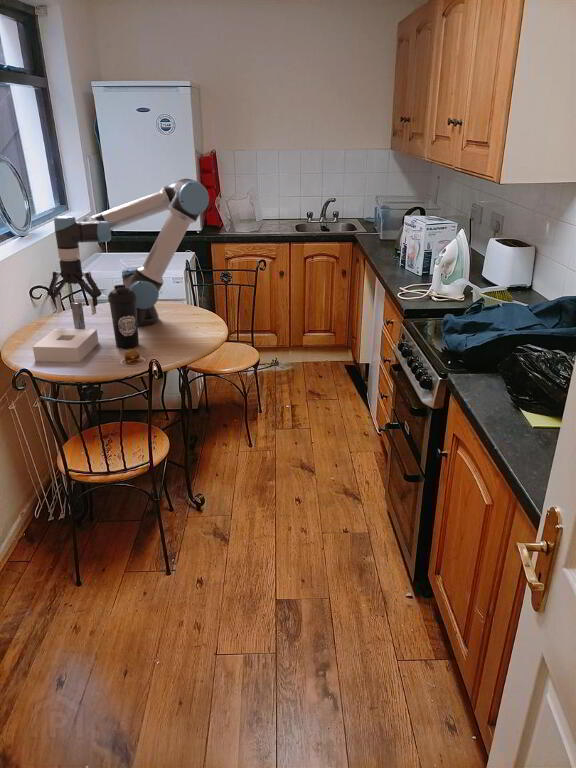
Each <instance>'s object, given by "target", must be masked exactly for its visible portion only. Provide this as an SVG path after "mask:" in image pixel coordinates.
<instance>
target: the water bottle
mask: <svg viewBox="0 0 576 768" xmlns="http://www.w3.org/2000/svg"><path fill="white" fill-rule="evenodd" d="M136 300H137V298H136V294H135V293H134V292H133V291H132V290H130V289H129V288H126V287H125V285H123V284H118V285H116V284H115V285H114V289H112V290H111V291H110V292H109V294H108V295H107V301H108V303H109V306H110V314H111V321H112V327H113V333H114V334H113V335H114V340H115V347H116V348H117V349H119V350H129V349H135V348H137V347H139V346H140V341H139V340H140V339H139V328H138V327H139V326H138V324H137V310H136Z"/></svg>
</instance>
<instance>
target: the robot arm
mask: <svg viewBox="0 0 576 768" xmlns="http://www.w3.org/2000/svg"><path fill="white" fill-rule="evenodd" d="M209 203H210V196H209V192H208V190H207V188H206V187H205V186H204V185H203V184H202V183H201V182H199V181H197V180H194V179H190V178H181V179H179V180H177V181H174V182H173V183H171V184H168V185H166V186H163V187H161V189H160V191H157V192H154V193H152V194H148V195H146V196H143V197H141V198H138V199H135V200H133V201H130V202H127V203H124V204H121V205H119V206H115V207H113V208H110V209H108V210H105V211H103V212H100V213H96V214H94V215H91V214H90V215H87V216H85V217H84V218H83V220H82V221H77V220H76V217H75V216H74V215H73V216H72V215H59V216H56V217H55V218H53V222H54V224H53V225H54V233H55V240H56V245H57V254H58V258H59V268H60V269H59V270H60V271H58V269H57V270H54V271H52V278H51V281H50V284H49V287H48V290H47V292H46V293H47V295H48V296H51V297H52V299H53V304H54V305H55V306H56V312H57V315H59V314H61V313H62V312H63V308H62V301H61V295H59V293H60V292H61V291H62V290H63V288H64V287H65V286H66V284H69V285H71V284H73V285H77V284H78V285H79V286H80V287H81V288H82V289H84V291H85V292H86V293H87V294H88V295H89V296H90V298H89V299H90V300H89V301H90V307H91V308H90V309H91V315H93V316H95V315H96V314H97V306H98V303H99V302H98V298H99V297H100V296H101V295H102V292H101V291H100V289H99V287H98V285H97V284H96V282H95V281H94V279H93V277H92V274H91V273H92V272H91V271H85V272H83V270H82V268H83V267H82V261H81V259H80V258H81V253H80V246H79V243H83V244H84V243H104V242H105V243H106V242H110V241H111V240H112V234H111V233H112V231H113V230H117V229H118V228H122V227H125V226H127V225H130V224H132V223H135V222H138V221H140V220H143V219H146V218H148V217H152V216H155V215H157V214H160V213H163V212H165V211H169V214H168V216H167V218H166V220H165V222H164V224H163V226H162V227H161V230H160V232H159V233H158V236H157V238H156V240H155V242H154V243H153V246H152V247H151V249H150V251H149V253H148V255H147V257H146V259H145V261H144V262H143V264H142V266H139V267H128V268H124V269H122V271H121V278H122V285H125V287H126V288H129V289H130V290H132V291H133V292H134V293H135V294H136V298H137V300H136V310H137V324H138V327H145V326H150V325H154V324H157V322H159V321H160V319H159V318H160V317H159V314H158V311H157V309H156V306H155V305H156V304H157V302H158V300H159V295H160V293H159V292H160V291H161V288H162V286H163V285H164V279H163V276H164V274H165V273H166V271H167V269H168V266H170V263H171V261H172V259H173V258H174V255H175V253H176V252H177V249H178V248H179V245H180V244H181V242H182V240H183V238H184V237H185V235H186V233H187V230H188V229H189V226H190V225H191V224H192V223H193V224H194V223H196V222H197V220H198V218H199V217H200V214H201V213H203V212H204V211H205V210H206V209H207V208H208V206H209ZM60 276H61V278H62V280H61V281H60V283H59V285H58V286H57V287H56V285H57V283H58V279H59V277H60ZM83 277H84V278H85V279H86V281H87V282H86V281H85V280H84V279H83ZM87 283H88V284H87ZM55 288H56V289H55Z"/></svg>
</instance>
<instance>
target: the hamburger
mask: <svg viewBox="0 0 576 768" xmlns="http://www.w3.org/2000/svg"><path fill="white" fill-rule="evenodd" d="M140 360H141V361H142V363H140ZM123 362H125V364H124V363H123ZM145 362H146V359H145V358H144V357H142V356H141V354H140V353H139V351H138V350H137V349H135V348H132V349H126V350H125V352H124V356H123V358H121V360H120V361H119V364H120V365H121V366H124V367H125V366H126V367H129V366H131V367H137V366H140V365H142V364H144V363H145ZM126 364H127V365H126Z"/></svg>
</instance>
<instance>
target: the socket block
mask: <svg viewBox="0 0 576 768" xmlns="http://www.w3.org/2000/svg"><path fill="white" fill-rule="evenodd" d="M98 344H99V336H98V329H91V328H86V329H75V328H54V329H53V330H52V331H50V332H49V333H48V334H47V335H46V336H44V337H43V338H41V339H40V340H39V341H37V343H36V344H34V345H33V346H32V351H33V356H34V360H35V361H34V362H54V363H55V362H60V363H61V362H62V363H80V362H82V361H83V359H84V358H85V357H86V356H87V355H88V354H89V353H90V352H91V351H92V350H93V349H94V348H95V347H96V346H97V345H98Z"/></svg>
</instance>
